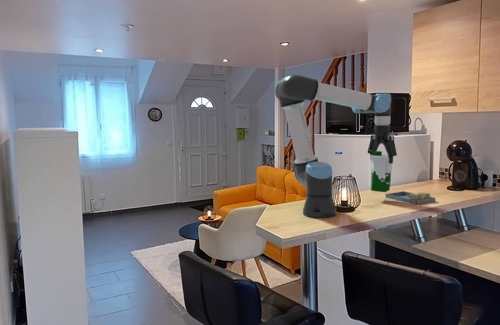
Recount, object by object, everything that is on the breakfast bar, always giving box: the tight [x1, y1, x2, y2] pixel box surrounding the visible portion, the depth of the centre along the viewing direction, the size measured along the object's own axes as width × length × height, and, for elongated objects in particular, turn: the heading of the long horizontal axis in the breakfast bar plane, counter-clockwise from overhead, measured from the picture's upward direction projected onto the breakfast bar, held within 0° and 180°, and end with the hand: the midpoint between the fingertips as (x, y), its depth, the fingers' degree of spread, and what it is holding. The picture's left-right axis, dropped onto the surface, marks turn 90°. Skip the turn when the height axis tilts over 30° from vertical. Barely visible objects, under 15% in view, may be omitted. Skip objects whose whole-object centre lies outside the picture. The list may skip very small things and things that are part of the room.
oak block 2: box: [417, 191, 431, 200], centre depth 190 cm, size 4×4×4 cm
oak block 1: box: [409, 192, 421, 201], centre depth 188 cm, size 4×4×4 cm
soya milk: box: [370, 150, 392, 193], centre depth 193 cm, size 9×9×20 cm
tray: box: [385, 190, 436, 206], centre depth 195 cm, size 13×20×2 cm, turn 25°
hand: (381, 168), depth 193 cm, fingers closed on soya milk, 10 cm apart
